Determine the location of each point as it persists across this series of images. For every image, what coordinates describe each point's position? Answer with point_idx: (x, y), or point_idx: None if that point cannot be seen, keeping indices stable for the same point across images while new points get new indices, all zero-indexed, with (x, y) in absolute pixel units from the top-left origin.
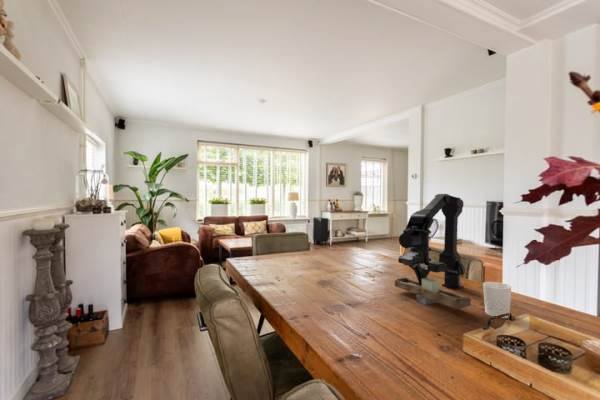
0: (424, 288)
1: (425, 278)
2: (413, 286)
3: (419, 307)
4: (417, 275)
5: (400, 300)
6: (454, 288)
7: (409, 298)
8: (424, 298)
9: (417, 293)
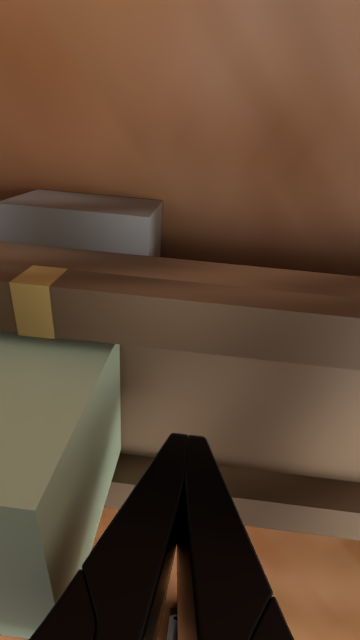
0: (52, 354)
1: (17, 569)
2: (246, 315)
3: (8, 50)
4: (235, 617)
5: (326, 36)
6: (172, 612)
7: (281, 225)
8: (9, 204)
9: (159, 262)
